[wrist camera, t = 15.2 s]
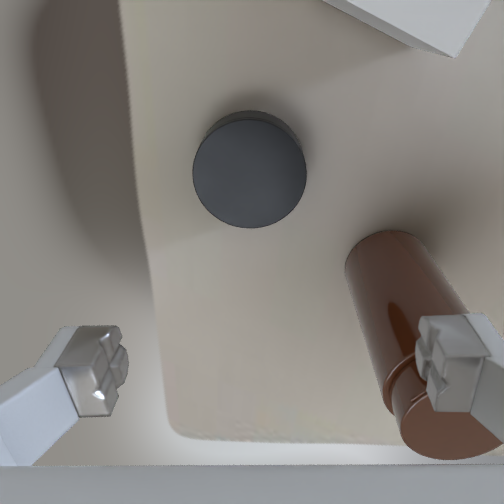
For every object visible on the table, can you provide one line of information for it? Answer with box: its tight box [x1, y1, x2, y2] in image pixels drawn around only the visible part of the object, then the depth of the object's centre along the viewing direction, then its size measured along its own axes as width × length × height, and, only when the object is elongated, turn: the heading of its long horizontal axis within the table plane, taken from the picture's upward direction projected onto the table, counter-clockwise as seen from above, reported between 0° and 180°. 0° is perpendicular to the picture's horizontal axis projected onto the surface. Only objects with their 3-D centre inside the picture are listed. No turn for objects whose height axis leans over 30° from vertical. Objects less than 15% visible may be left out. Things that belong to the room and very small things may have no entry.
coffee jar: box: [345, 231, 503, 460], centre depth 24 cm, size 6×6×13 cm
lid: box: [193, 111, 307, 228], centre depth 25 cm, size 7×7×2 cm
